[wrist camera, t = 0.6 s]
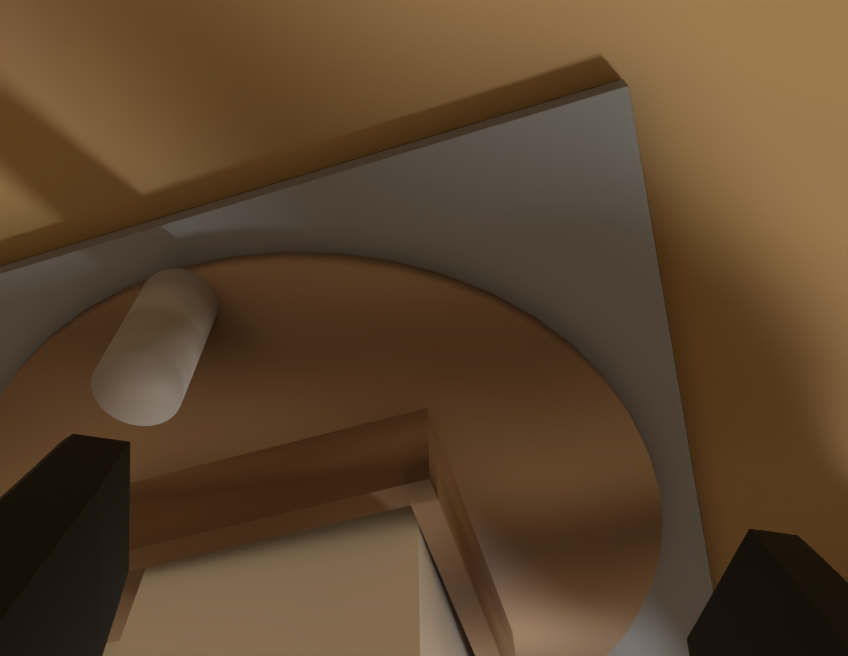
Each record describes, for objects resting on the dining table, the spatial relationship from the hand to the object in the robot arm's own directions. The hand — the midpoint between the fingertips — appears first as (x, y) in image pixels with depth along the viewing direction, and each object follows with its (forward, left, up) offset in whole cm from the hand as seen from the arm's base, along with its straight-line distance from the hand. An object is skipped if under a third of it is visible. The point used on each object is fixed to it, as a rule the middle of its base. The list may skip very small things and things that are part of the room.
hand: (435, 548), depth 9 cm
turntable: (-8, +5, -9) cm, 14 cm away
